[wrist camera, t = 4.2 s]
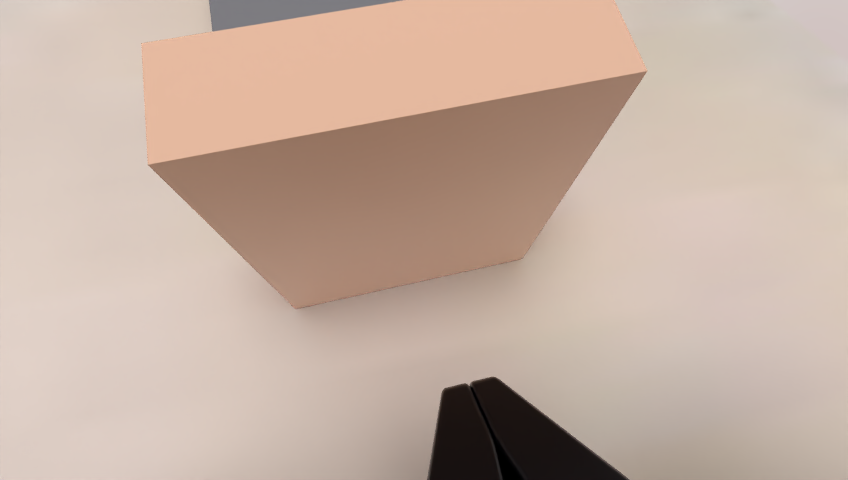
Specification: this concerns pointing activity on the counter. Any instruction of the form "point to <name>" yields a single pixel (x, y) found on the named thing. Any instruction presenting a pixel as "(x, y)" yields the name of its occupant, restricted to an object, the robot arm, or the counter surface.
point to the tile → (386, 134)
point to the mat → (275, 10)
